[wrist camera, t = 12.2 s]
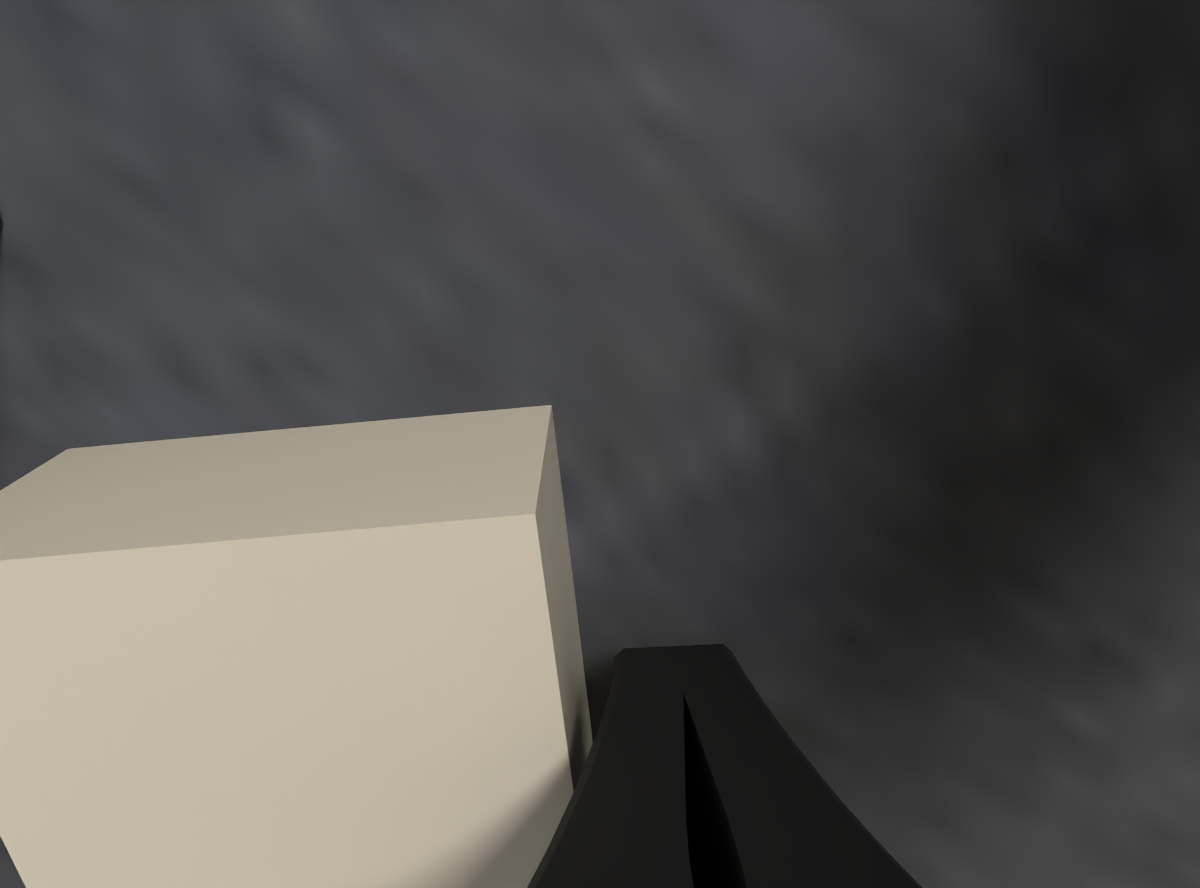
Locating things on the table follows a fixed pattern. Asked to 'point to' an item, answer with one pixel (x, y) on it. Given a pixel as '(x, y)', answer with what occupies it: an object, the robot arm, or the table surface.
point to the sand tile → (292, 658)
